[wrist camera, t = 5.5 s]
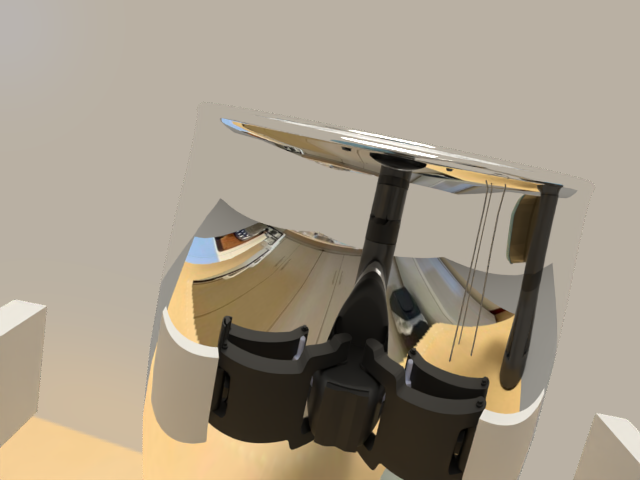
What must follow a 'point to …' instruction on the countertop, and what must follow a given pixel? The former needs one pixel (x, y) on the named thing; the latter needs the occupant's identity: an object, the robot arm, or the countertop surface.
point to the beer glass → (354, 306)
